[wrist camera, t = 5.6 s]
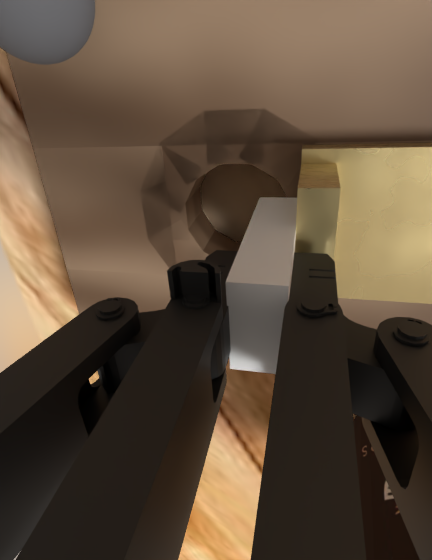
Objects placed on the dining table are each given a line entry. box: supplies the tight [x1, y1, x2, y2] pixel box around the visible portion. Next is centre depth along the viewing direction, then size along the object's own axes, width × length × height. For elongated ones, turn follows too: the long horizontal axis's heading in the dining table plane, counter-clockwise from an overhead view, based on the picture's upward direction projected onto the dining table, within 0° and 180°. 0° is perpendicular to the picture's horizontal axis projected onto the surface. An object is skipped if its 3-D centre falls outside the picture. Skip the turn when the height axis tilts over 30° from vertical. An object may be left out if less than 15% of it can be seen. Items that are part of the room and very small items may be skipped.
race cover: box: [295, 142, 432, 304], centre depth 14 cm, size 6×6×4 cm
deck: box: [6, 0, 432, 329], centre depth 15 cm, size 26×18×2 cm
